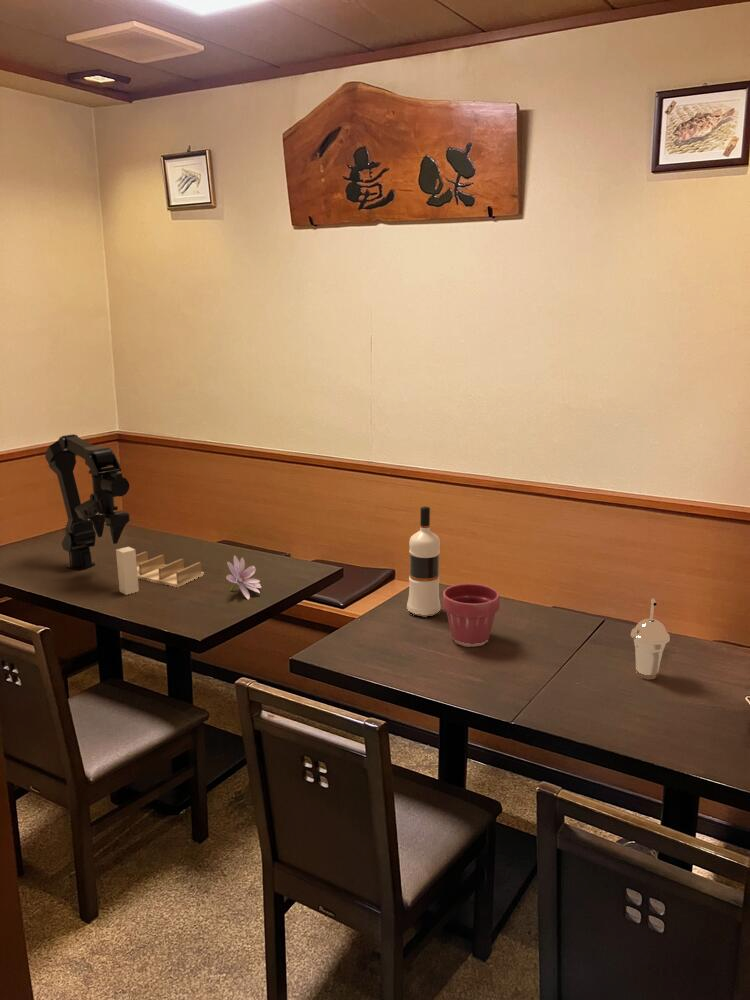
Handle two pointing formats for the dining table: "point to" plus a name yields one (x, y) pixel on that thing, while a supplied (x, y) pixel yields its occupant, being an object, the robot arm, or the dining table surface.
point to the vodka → (424, 569)
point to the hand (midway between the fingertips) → (107, 540)
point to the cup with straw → (649, 643)
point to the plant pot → (470, 611)
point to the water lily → (243, 577)
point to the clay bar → (127, 570)
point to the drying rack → (166, 570)
